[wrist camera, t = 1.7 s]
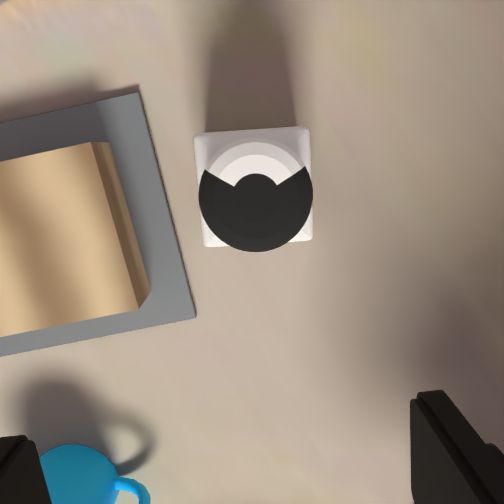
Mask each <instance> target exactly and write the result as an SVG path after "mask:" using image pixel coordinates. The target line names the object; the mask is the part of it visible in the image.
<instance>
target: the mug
mask: <svg viewBox="0 0 504 504" xmlns="http://www.w3.org/2000/svg"><path fill="white" fill-rule="evenodd" d="M39 460H40V463H41V467H42V470H43V474H44V477H45V481H46V484H47V488H48V491H49V495H50V498H51V502H52V504H115V501H116V499H117V495H118V492H119V490H124V491H129V492H132V493H133V494H135V495H137V497H138V498H139V504H150V495H149V493H148V491H147V489H146V488H145V486H144V485H142V484H141V483H139V482H137V481H136V480H134V479H129V478H124V477H119V476H118V474H117V472H116V469H115V467H114V465H113V464H112V463H111V462H110V461H109V460H108V459H107V458H106V457H105V456H104V455H102V454H101V453H99V452H98V451H96V450H94V449H92V448H88V447H85V446H81V445H63V446H59V447H56V448H52V449H51V450H49V451H48V452H46V453H45V454H43V455H42V456H41V457H40V459H39Z"/></svg>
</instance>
